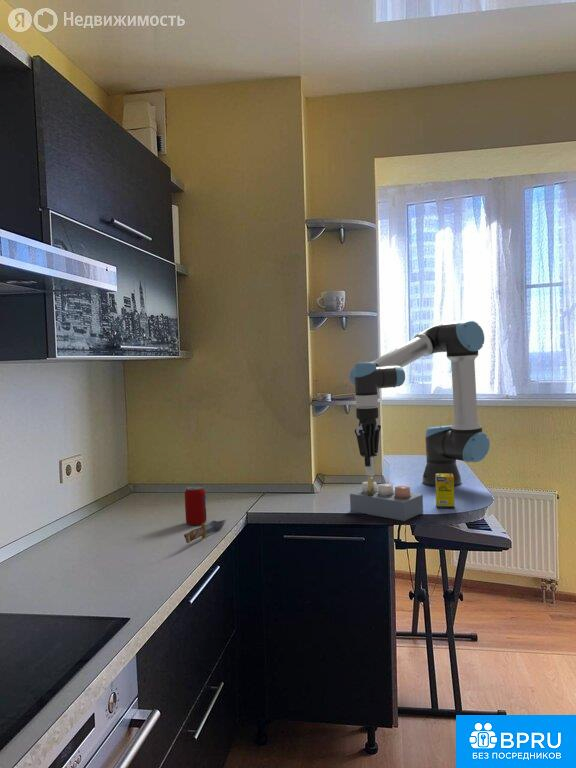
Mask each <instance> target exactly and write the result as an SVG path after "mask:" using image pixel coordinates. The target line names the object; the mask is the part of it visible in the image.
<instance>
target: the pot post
mask: <svg viewBox="0 0 576 768" xmlns="http://www.w3.org/2000/svg"><path fill="white" fill-rule="evenodd" d="M366 482H368V496H374V482H375V481H374V477H373V476H367V481H366Z"/></svg>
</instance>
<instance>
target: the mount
mask: <svg viewBox="0 0 576 768" xmlns="http://www.w3.org/2000/svg"><path fill="white" fill-rule="evenodd" d="M423 499H424V496H423V494H421V493H413V492H410V498H406V499H402V498H396V497H395V489H393V495H390V496H381V495H379V494H378V487H377V492H376V493H374V496H368V493H363V492H362V489H360V490H357V491H354V492H351V493H349V502H350V504H349V505H350V512H353V513H358V512H361V513H360V514H364V513H366V514H365V515H369V516H376V517H382V518H386V519H387V518H388V519H393V520H397V521H402V522H405V521H407V520H409V519H410V520H411V519H412V518H414V517H416V516H418V515H421V514H422V513H423V512H424V501H423Z"/></svg>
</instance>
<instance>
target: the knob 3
mask: <svg viewBox="0 0 576 768" xmlns="http://www.w3.org/2000/svg"><path fill="white" fill-rule="evenodd" d="M394 491H395V497H396V498H402V499H406V498H410V493H411V487H410V486H407V485H397V486H394Z"/></svg>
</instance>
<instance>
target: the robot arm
mask: <svg viewBox="0 0 576 768" xmlns="http://www.w3.org/2000/svg"><path fill="white" fill-rule="evenodd" d="M484 344H485V333H484V330H483V328H482V327H481V325H479V323H477V321H474V320H471V319H470V320H469V319H468V320H465V319H463V320H456V321H455V320H454V321H447V322H445V321H443V322H439V323H437V324H434V325H432V326H429V327H428V328H426V329H424V330H423V331H421V332H418V333H417V334H415V336H414V338H413V339H411V340H410V341H407V342H406V343H404V344H403V345H400V346H398V347H396V348H395V349H393V350H391V351H389V352H388V353H386V354H383V355H382V356H380V357H378V358H376V359H374V360H372V361H365V362H362V361H361V362H356V363H355V364H354V367H353V368H351V370H350V372H349V380H350V383H351V384H352V385H353V386H354V393H355V406H356V407H357V408H356V409H355V415H356V419H357V420H359V422H358V428H356V429H354V433H355V436H356V440H357V446H358V450H359V455H360V456H361V457H362V458H364V469H365V476H367V477H373V476H375V475H376V474H375V457H377V456H378V453H379V442H380V432H381V429H382V425H380V424H378V423H377V420H376V419H379V408H378V406H379V399H378V398H379V397H378V395H379V394H378V389H379V390H380V389H388V388H397V387H400V386H402V385H403V384H405V381H406V372H405V370H404V367H405V366H407V365H410V364H412V363H413V362H414V361H416V360H418V359H420V358H422V357H429V356H430V355H434V354H437V353H446V358H447V359H448V360H450V365H451V382H452V397H453V398H452V402H453V419H454V421H453V424H450V425H449V424H448V425H440V426H431V427H428V428H426V431H425V454H426V455H425V457H426V464H425V467H424V471H423V475H422V483H423V484H425V485H427V486H428V485H429V486H433V487H436V479H435V474H453V476H454V486H457V485H460V484H461V483H462V477H461V474H460V470H459V468H458V466H457V461H463V462H465V463H479V462H481V461H482V460H484V459H485V457H486V456H487V455H488V453H489V450H490V444H491V443H490V438H489V437H488V435H487V434H486V433H484V432H483V426H482V425H481V424H480V423H479V422H478V404H477V386H476V385H477V384H476V366H475V364H476V363H475V361H476V360H475V359H477V357H478V356H479V351H480V350H481V349H482V348H483V346H484Z"/></svg>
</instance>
